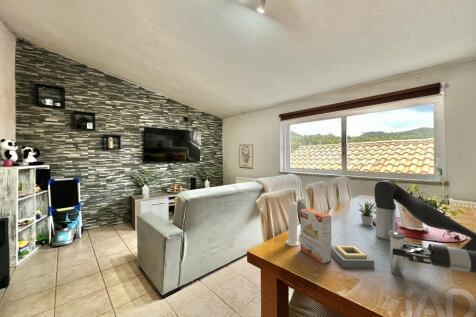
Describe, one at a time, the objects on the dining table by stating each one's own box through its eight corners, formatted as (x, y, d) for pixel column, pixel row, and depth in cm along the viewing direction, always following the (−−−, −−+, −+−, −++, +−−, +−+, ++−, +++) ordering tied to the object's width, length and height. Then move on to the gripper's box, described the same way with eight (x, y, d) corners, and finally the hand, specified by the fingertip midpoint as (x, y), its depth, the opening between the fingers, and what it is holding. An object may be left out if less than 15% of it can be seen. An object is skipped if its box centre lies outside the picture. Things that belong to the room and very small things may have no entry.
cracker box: (299, 250, 97) (299, 208, 97) (308, 248, 100) (309, 207, 100) (321, 264, 84) (321, 216, 84) (331, 261, 87) (332, 215, 87)
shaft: (397, 269, 81) (398, 230, 81) (408, 276, 76) (408, 235, 76) (385, 269, 81) (385, 230, 81) (395, 276, 76) (395, 235, 76)
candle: (292, 247, 100) (292, 199, 100) (283, 242, 107) (283, 196, 107) (302, 244, 104) (302, 198, 104) (293, 239, 110) (293, 195, 110)
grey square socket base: (356, 252, 95) (356, 244, 95) (374, 267, 82) (374, 257, 82) (329, 252, 95) (329, 243, 95) (343, 267, 82) (343, 257, 82)
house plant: (386, 228, 128) (386, 203, 128) (365, 228, 128) (365, 203, 128) (371, 221, 142) (372, 199, 142) (352, 221, 142) (353, 199, 142)
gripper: (456, 277, 64) (393, 264, 73) (442, 259, 76) (389, 249, 85) (455, 254, 64) (392, 244, 73) (441, 240, 76) (389, 232, 85)
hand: (391, 247), depth 79 cm, fingers open, 8 cm apart
